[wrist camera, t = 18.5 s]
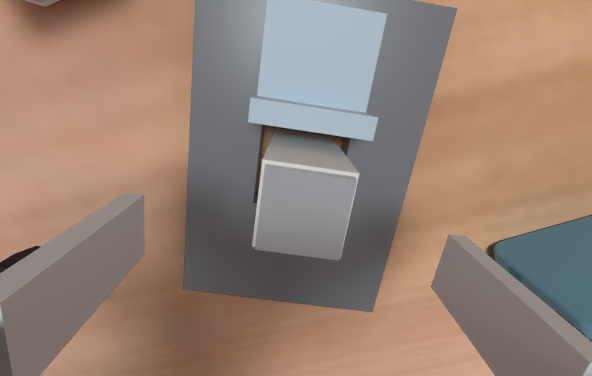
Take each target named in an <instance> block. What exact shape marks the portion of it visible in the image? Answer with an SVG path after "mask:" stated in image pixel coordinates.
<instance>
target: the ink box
mask: <svg viewBox="0 0 592 376" xmlns="http://www.w3.org/2000/svg"><path fill="white" fill-rule="evenodd" d="M24 1H27V2H30V3H33V4H36V5H40V6H42V7H46V6H49V5H51V4H53V3H56V2H58V1H60V0H24Z"/></svg>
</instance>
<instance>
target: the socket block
mask: <svg viewBox="0 0 592 376" xmlns="http://www.w3.org/2000/svg"><path fill="white" fill-rule="evenodd" d="M312 1H318V2H323V3H329V4H335V5H340V6H346V7H352V8H358V9H363V10H369V11H375V12H380V13H386V14H387V18H386V22H385V27H384V32H383V36H382V41H381V45H380V50H379V55H378V59H377V64H376V68H375V73H374V78H373V82H372V87H371V92H370V96H369V101H368V105H367V110H366V113H368V114H370V115H373V116H376V117H378V122H377V126H376V130H375V135H374V139H373V141H368V140H362V139H355V138H349V137H344V138H343V143H342V148H341V150H342V151H343V152H344V154H345V155H346V156H347V158H348V159H349V160H350V162H351V163H352V164H353V166H354V167H355V168H356V169H357V171H358V172H359V173H360V174H359V178H358V182H357V187H356V191H355V196H354V200H353V205H352V209H351V214H350V218H349V223H348V227H347V232H346V236H345V241H344V245H343V249H342V254H341V258H340V259H339V260H332V259H324V258H316V257H308V256H301V255H293V254H285V253H278V252H270V251H262V250H255V247H252V242H253V234H254V225H255V217H256V209H257V200H258V191H257V188H258V179H259V171H260V162H261V154H262V145H263V137H264V128H265V125H263V124H256V123H250V122H248V117H249V107H250V97H254V96H257V91H258V82H259V72H260V63H261V53H262V44H263V35H264V25H265V16H266V6H267V0H195V17H194V41H193V65H192V89H191V113H190V137H189V161H188V185H187V209H186V232H185V256H184V280H183V290H191V291H200V292H208V293H216V294H224V295H233V296H241V297H249V298H258V299H266V300H274V301H282V302H291V303H299V304H307V305H316V306H324V307H332V308H340V309H349V310H357V311H365V312H373V308H374V305H375V301H376V298H377V294H378V291H379V287H380V283H381V280H382V276H383V273H384V269H385V266H386V262H387V258H388V255H389V251H390V248H391V244H392V240H393V237H394V233H395V230H396V226H397V223H398V219H399V215H400V212H401V208H402V205H403V201H404V198H405V194H406V190H407V187H408V183H409V180H410V176H411V172H412V169H413V165H414V162H415V158H416V155H417V151H418V147H419V144H420V140H421V137H422V133H423V130H424V126H425V122H426V119H427V115H428V112H429V108H430V104H431V101H432V97H433V94H434V90H435V87H436V83H437V79H438V76H439V72H440V69H441V65H442V62H443V58H444V54H445V51H446V47H447V44H448V40H449V36H450V33H451V29H452V26H453V22H454V19H455V15H456V11H457V8H452V7H446V6H441V5H435V4H429V3H424V2H418V1H413V0H312Z"/></svg>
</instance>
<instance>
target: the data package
mask: <svg viewBox="0 0 592 376" xmlns="http://www.w3.org/2000/svg"><path fill="white" fill-rule="evenodd" d="M493 252H494V259H495V262H497V263H498V264H499V265H500V266H501V267H503V268H504V269H505V270H506V271H507V272H509V273H510V274H511V275H512V276H513V277H515V278H516V279H517V280H518V281H519V282H521V283H522V284H523V285H524V286H525V287H527V288H528V289H529V290H530V291H531V292H533V293H534V294H535V295H536V296H537V297H539V298H540V299H541V300H542V301H543V302H545V303H546V304H547V305H548V306H549V307H551V308H552V309H553V310H555V311H556V312H558V313H559V314H561V315H562V316H563V317H564V318H565V319H567V320H568V321H569V322H570V323H571V324H573V325H574V328H577V329H579V330H580V331H581V332H582V333H584V334H585V335H586V338H589V339H591V340H592V215H591V216H588V217H584V218H581V219H577V220H574V221H570V222H566V223H563V224H559V225H556V226H552V227H549V228H545V229H542V230H538V231H534V232H531V233H527V234H524V235H520V236H517V237H513V238H509V239H506V240H502V241H500V242H498V243H497V244H495V246H494V248H493Z"/></svg>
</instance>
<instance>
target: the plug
mask: <svg viewBox="0 0 592 376" xmlns="http://www.w3.org/2000/svg"><path fill="white" fill-rule="evenodd" d="M359 174H360V173H359V172H358V171H357V169H356V168H355V167H354V166H353V164H352V163H351V162H350V160H349V159H348V158H347V156H346V155H345V154H344V152H343V151H342V150H341V148H340V147H339V146H338V144H337V143H336V142H335V140H334V139H333V138H332V137H329V136H322V135H316V134H309V133H303V132H296V131H289V130H283V129H275V131H274V134H273V136H272V138H271V141H270V143H269V145H268V147H267V150H266V152H265V154H264V157H263V159H262V166H261V175H260V183H259V192H258V200H257V209H256V217H255V225H254V234H253V242H252V247H255V250H262V251H270V252H278V253H285V254H293V255H301V256H308V257H316V258H324V259H332V260H339V259H340V258H341V254H342V249H343V245H344V241H345V236H346V232H347V227H348V223H349V218H350V214H351V209H352V205H353V200H354V196H355V191H356V187H357V182H358V178H359Z"/></svg>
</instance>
